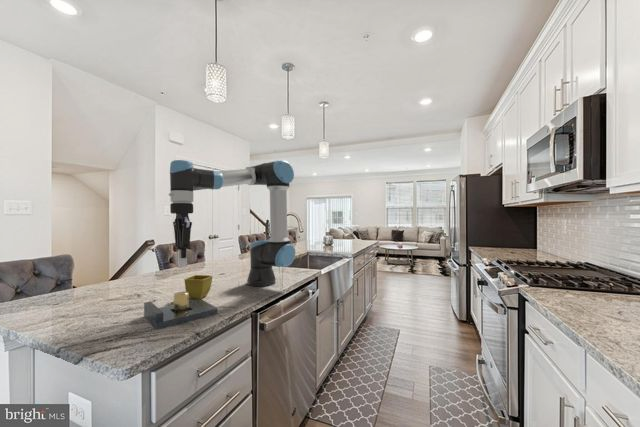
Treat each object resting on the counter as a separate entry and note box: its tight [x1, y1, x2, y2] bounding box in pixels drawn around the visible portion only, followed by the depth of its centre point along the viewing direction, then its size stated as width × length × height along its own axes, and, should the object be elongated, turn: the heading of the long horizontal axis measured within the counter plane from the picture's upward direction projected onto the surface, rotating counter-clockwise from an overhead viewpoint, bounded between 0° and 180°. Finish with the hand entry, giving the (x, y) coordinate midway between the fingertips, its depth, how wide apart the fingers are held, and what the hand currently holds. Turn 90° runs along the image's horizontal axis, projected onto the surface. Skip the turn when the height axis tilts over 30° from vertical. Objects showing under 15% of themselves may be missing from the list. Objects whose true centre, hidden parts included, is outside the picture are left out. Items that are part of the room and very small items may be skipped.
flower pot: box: [184, 274, 213, 300], centre depth 119 cm, size 9×9×9 cm
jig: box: [143, 298, 219, 331], centre depth 97 cm, size 20×16×5 cm
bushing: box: [173, 290, 190, 314], centre depth 97 cm, size 5×5×8 cm
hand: (182, 266), depth 98 cm, fingers closed
